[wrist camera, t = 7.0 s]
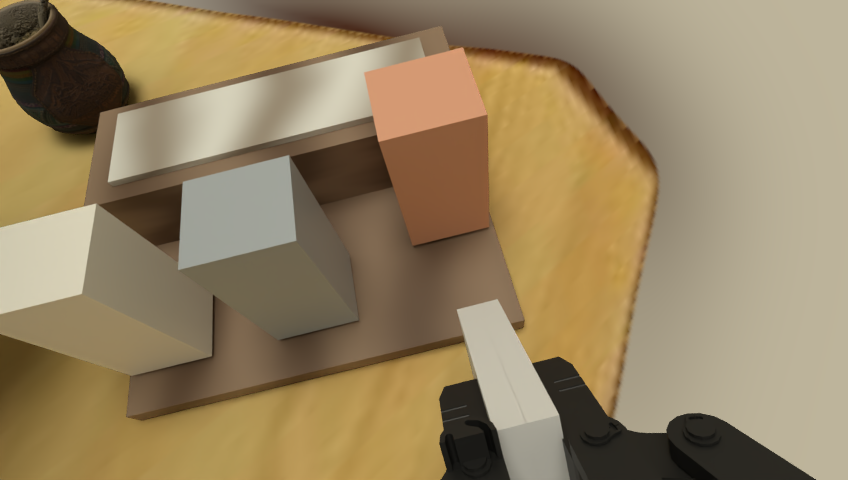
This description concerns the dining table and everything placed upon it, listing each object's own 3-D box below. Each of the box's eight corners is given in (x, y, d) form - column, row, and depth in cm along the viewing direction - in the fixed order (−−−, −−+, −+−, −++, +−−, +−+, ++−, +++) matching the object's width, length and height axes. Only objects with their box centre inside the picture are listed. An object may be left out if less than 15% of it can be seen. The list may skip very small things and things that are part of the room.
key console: (141, 420, 25) (41, 400, 20) (161, 171, 34) (95, 107, 28) (523, 327, 25) (531, 279, 19) (449, 99, 33) (440, 20, 28)
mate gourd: (40, 118, 38) (-93, 5, 29) (122, 65, 40) (20, -56, 31) (77, 163, 35) (-60, 52, 26) (163, 103, 37) (63, -19, 28)
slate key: (277, 340, 25) (177, 270, 17) (274, 272, 27) (182, 182, 19) (359, 320, 25) (296, 240, 17) (349, 254, 27) (289, 155, 19)
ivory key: (131, 375, 25) (-36, 322, 17) (138, 306, 27) (-9, 229, 19) (211, 356, 25) (81, 294, 17) (212, 287, 27) (96, 203, 19)
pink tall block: (412, 245, 26) (378, 141, 19) (399, 188, 28) (364, 72, 21) (489, 226, 26) (487, 114, 19) (471, 171, 28) (462, 47, 20)
